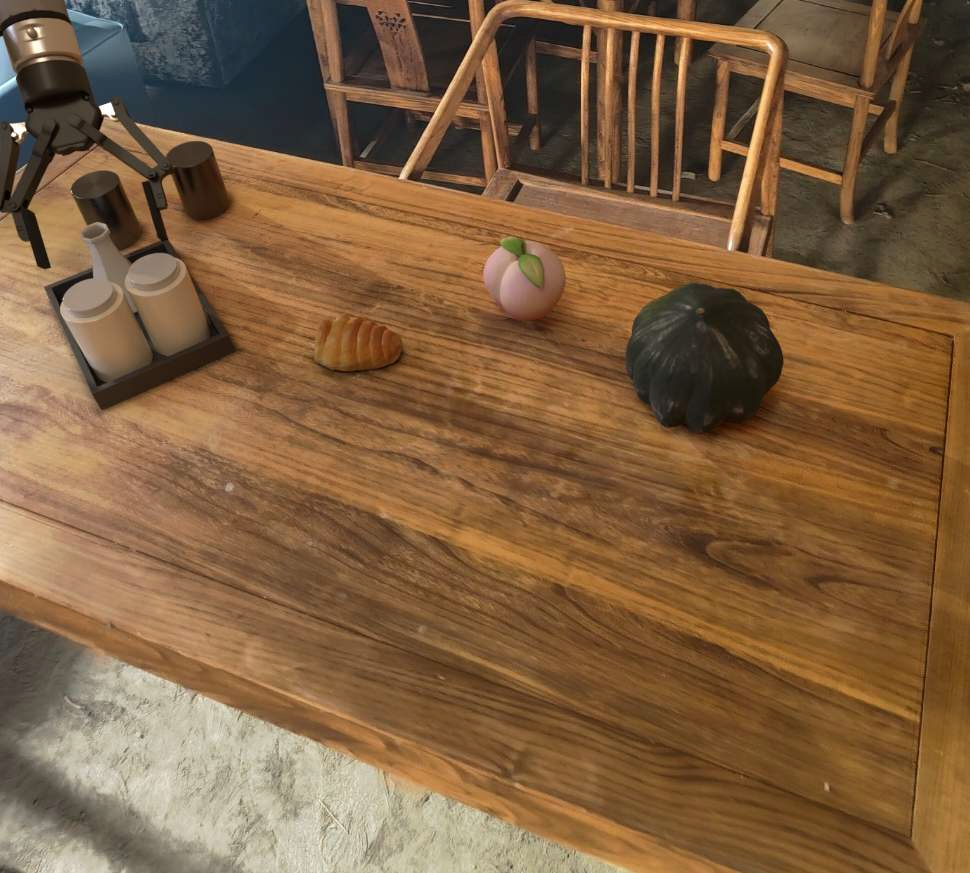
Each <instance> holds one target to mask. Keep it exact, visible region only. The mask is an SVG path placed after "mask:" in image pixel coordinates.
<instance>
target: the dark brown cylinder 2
mask: <svg viewBox="0 0 970 873" xmlns="http://www.w3.org/2000/svg"><path fill="white" fill-rule="evenodd" d="M165 155H166V156H165V157H166V158H167V159H168V161H169V162H170V163H171V164H172V166H173V167H174V173H173V174H172V175H170V176H171V178H172V181H173V183H174V186H175V189H176V191H177V194H178V196H179V199H180V202H181V204H182V207H183V209H184V212H185V214H186V215H187V217H189V218H190V219H192V220H198V221H208V220H211V219H215V218H217V217H220V216H221V215H223V214H224V213H226V211H228V209H229V208H230V206H231V199H230V196H229V194H228V190H227V187H226V184H225V182H224V178H223V175H222V172H221V169H220V166H219V164H218V160H217V158H216V154H215V152H214V149H213V146H212V145H211V144H210V143H208V142H205V141H201V140H191V141H186V142H183V143H180V144H177V145H175V146H173V147H172V148H171V149H170V150H169V151H167V153H166V154H165Z"/></svg>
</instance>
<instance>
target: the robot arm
mask: <svg viewBox="0 0 970 873" xmlns="http://www.w3.org/2000/svg"><path fill="white" fill-rule="evenodd" d="M0 38H3V41H4V45H5V48H6V52H7V55H8V58H9V62H10V65H11V68H12V71H13V72H14V73H15V74H16V76H15V83H16V85H17V88H18V91H19V95H20V98H21V102H22V105H23V108H24V111H25V121H24V122H15V123H9V122H8V121H6V120H2V121H0V141H1V142H0V213H2V214H11V216H12V220H13V223H14V227H15V229H16V232H17V236H18V237H19V239H20V240H21V241H23V242H25V243H28V242H29V244H30V247H31V251H32V254H33V257H34V260H35V264H36V266H37V267H38V268H41V269H42V270H49V269H52V265H51V262H50V258H49V255H48V252H47V248H46V245H45V243H44V239H43V236H42V232H41V228H40V226H39V222H38V219H37V216H36V213H35V212H34V211H32V210H30V209H29V207H30V205H31V203H32V201H33V198H34V196H35V195H36V193H37V190H38V188H39V187H40V184H41V182H42V180H43V177H44V175H45V173H46V171H47V169H48V167H49V165H50V164H51V163H53V161H54V158H55V156H56V155H58V156H59V155H60V156H62V157H65V156H69V155H71V154H73V153H76V152H83V153H84V152H87V151H90V149H91V148H92V147H93V146H94V145H97V146H98V147H100V148H101V149H102V150H104V151H105V152H107V153H109V154H110V155H111V156H113V157H114V158H116V159H117V160H119V161H120V162H121V163H123V164H124V165H126V166H128V168H130V169H132V170H133V171H135V172H136V173H137V174H139V176H140V175H141V176H142V177H143V178H145V179H146V180H145V181H141V186H142V189H143V192H144V196H145V198H146V203H147V206H148V209H149V213H150V218H151V220H152V223H153V226H154V230H155V234H156V236H157V237H156V238H157V239H158V240H159V241H166V240H169V237H168V233H167V230H166V225H165V223H164V220H163V217H162V212H161V211H165V210H168V207H169V203H168V200H167V196H166V193H165V190H164V186H163V180H164V179H165V178H166V177H168V176H171V175H172V174H173V173H174V167H173V166H172V164H171V163H170V162H169V161H168V159H167V158H166V156H165V155H164V154H163V152H161V150H160V149H159V148H158V147H157V146H156V145H155V143H153V141H152V140H151V139H150V138H149V136H148V135H146V134H145V133H144V131H143V130H142V129H141V128H140V127H139V126H138V125H137V124H136V123H135V121H134V120H133V119H132V118H131V115H130V113H129V111H128V107H127V106H126V104H125V102H123V100H122V99H121V98H120V97H119V96H113V97H112V98H111V99H110V102H107V103H105V104H102V105H97V103H96V101H95V98H94V93H93V91H92V87H91V83H90V80H89V77H88V73H87V70H86V68H85V67H84V66H83V62H84V60H83V56H82V52H81V49H80V46H79V42H78V39H77V36H76V32H75V29H74V26H73V25H72V20H71V18H70V16H69V12H68V9H67V4H66V1H65V0H0ZM105 118H109V119H110V120H111V121H112V122H113V123H120V124H121V125H122V126H123V127H124V129H125V131H127V133H128V134H129V135H130V136H131V137H132V138H133V139H134V140H135V141H136V143H137V144H139V146H140V147H141V148H142V149H143V151H145V153H147V154H148V156H149V157H150V158H151V159H152V160H153V161H154V162H155V164H156V165H155V166H153V167H151V166H150V165H148V164H147V163H145V161H143V160H141V159H140V158H139V157H137V156H135V155H134V154H133V153H131V152H130V151H128V150H127V149H125V148H124V147H123V146H121V145H120V144H119V143H116V141H114V140H113V139H111V138H109V137H108V136H107V135H106V134H104V133H103V132H102V131H101V128H102V126H103V122H104V119H105ZM28 134H29V135H31V136H32V137H33V138H34V139H36V140H35V143H34V144H33V147H32V149H31V154H30V157H29V159H28V161H27V163H26V165H25V168H24V169H23V172H22V173H21V176H20V178H19V180H18V182H17V184H16V186H15V189H13V188H14V184H15V178H16V173H17V168H18V163H19V158H20V152H21V149H20V148H21V146H20V145H21V144H22V143H24V141H25V137H26V135H28ZM13 190H14V191H13Z"/></svg>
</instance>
